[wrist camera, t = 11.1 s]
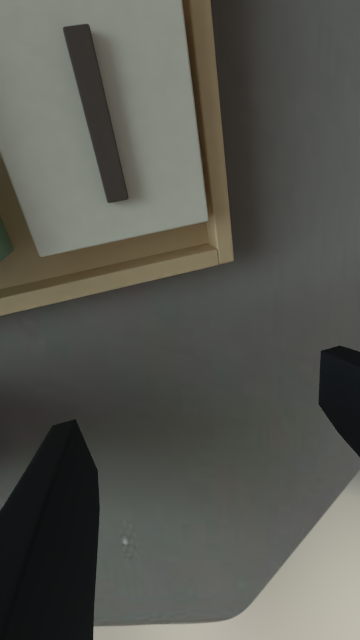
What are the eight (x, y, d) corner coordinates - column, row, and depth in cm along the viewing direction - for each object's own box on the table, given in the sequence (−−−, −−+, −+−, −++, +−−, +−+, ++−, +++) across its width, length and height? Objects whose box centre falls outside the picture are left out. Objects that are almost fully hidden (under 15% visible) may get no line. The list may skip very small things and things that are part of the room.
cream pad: (49, 244, 14) (36, 261, 12) (-32, 18, 11) (-77, -33, 8) (194, 214, 15) (213, 223, 13) (163, -7, 12) (181, -60, 9)
